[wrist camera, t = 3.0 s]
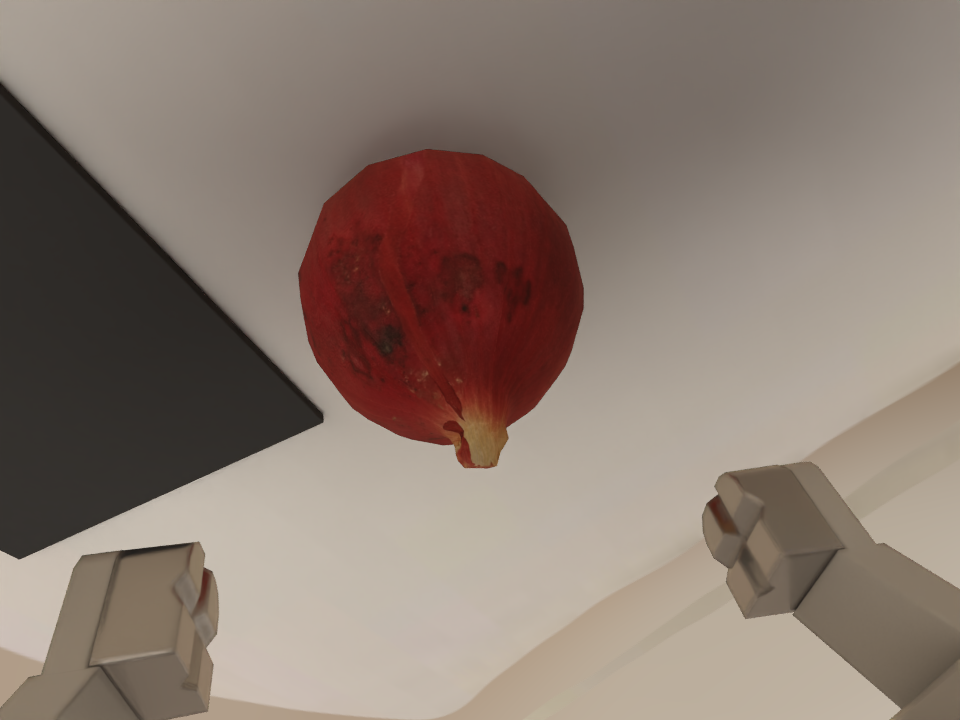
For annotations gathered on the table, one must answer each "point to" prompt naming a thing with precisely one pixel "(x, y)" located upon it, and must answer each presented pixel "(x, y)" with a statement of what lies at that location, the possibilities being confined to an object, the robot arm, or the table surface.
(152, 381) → the placemat
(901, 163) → the table surface
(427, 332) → the red round fruit
